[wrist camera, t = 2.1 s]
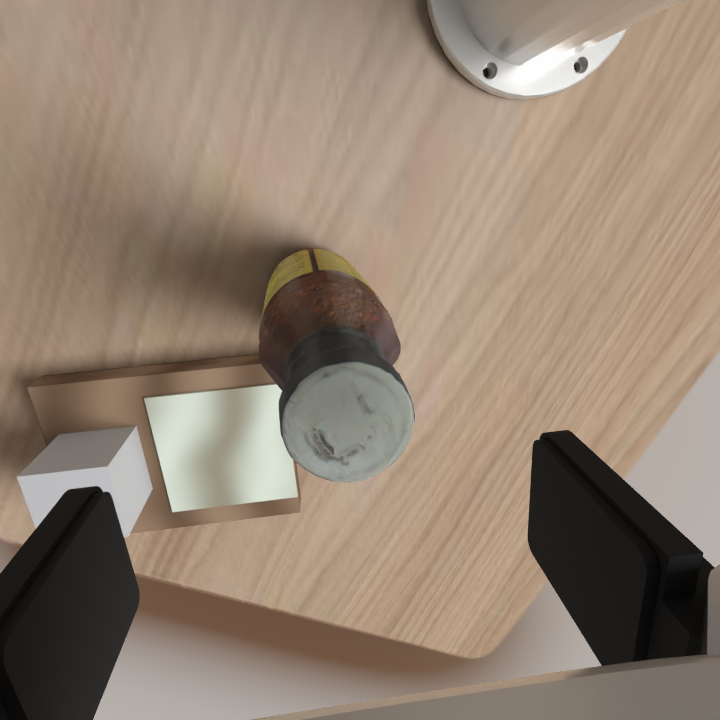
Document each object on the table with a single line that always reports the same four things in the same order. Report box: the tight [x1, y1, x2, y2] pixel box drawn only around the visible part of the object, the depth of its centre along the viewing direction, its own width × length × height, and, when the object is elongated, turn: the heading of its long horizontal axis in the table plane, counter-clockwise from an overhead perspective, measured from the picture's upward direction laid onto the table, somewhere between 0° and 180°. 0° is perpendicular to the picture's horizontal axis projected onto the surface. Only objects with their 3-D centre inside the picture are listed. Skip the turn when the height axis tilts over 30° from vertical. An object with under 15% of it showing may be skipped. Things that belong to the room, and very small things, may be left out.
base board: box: [27, 354, 301, 533], centre depth 34 cm, size 16×12×2 cm
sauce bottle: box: [258, 248, 415, 482], centre depth 23 cm, size 7×6×20 cm
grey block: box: [17, 426, 153, 537], centre depth 31 cm, size 5×5×5 cm
